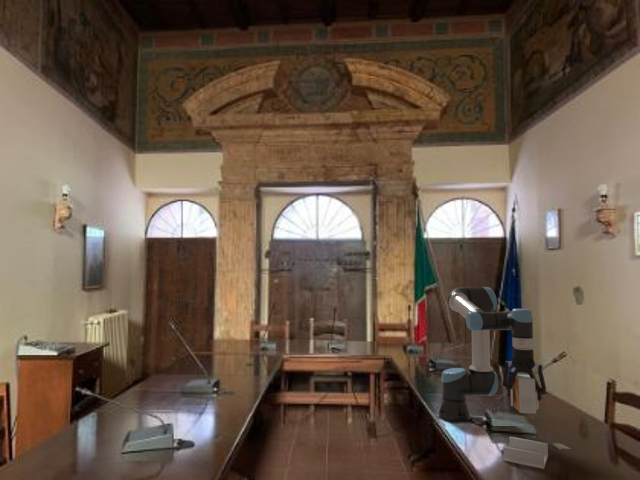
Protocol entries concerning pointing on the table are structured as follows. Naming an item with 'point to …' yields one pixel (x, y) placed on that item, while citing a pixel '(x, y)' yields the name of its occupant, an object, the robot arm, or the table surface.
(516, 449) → the end holder
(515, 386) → the small box
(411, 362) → the table surface
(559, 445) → the map
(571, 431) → the table surface
